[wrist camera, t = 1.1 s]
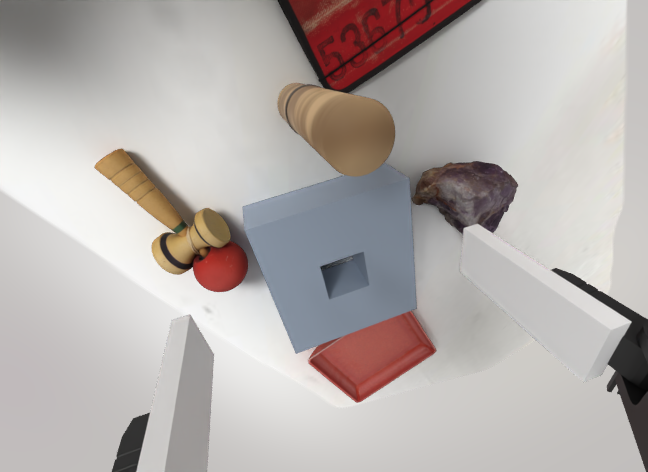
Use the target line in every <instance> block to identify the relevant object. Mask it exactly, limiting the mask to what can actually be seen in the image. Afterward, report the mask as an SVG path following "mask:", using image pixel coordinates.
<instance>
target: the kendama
mask: <svg viewBox="0 0 648 472" xmlns="http://www.w3.org/2000/svg"><path fill="white" fill-rule="evenodd" d="M95 169H96V170H98V171H99V172H100V173H101V174H103V175H104V176H105V177H106V178H108V179H109V180H111V181H112V182H113V183H114V184H115V185H116V186H118V187H119V188H120V189H121V190H122V191H123V192H125V193H126V194H128V196H129V197H131V198H132V199H133V200H134V201H137V203H138V204H139V205H140V206H141V207H142V208H143V209H145V210H146V211H147V212H148V213H150V214H151V215H152V216H153V217H155V218H156V219H157V220H159V221H160V222H161V223H163V224H164V225H166V226H167V227H168V228H170V229H171V230H172V231H174V232H175V233H177V234H174V233H170V232H166V233H163V234H161V235H160V236H159V237H157V238H156V239H155V240H154V241H153V243H152V253H153V256H154V258H155V260H156V261H157V263H158V264H159V265H160V266H161V267H162V268H163V269H164V270H166V271H167V272H169V273H172V274H177V275H178V274H182V273H184V272H186V271H188V270H190V269H191V268H192V267H193V271H194V275H195V277H196V279H197V281H198V282H199V283H200V284H201V285H202V286H203V287H204V288H206V289H208V290H210V291H214V292H225V291H229V290H231V289H233V288H235V287H237V286H238V285H239V284H240V283H241V282H242V281H243V279H244V278H245V276H246V273H247V270H248V259H247V256H246V254H245V252H244V251H243V249H242V248H241V247H240V246H239V245H237V244H236V243H234V242H232V241H230V238H231V236H230V231H229V228H228V226H227V224H226V222H225V221H224V220H223V218H222V217H221V216H220V215H219V214H218V213H216V212H215V211H213V210H211V209H209V208H205V209H203V210H201V211H199V212H197V213H196V215H195V218H194V224H193V226H188V225H187V224H186V223H185V222H184V220H183V219H182V218H181V216H180V215H179V214H178V212H177V211H176V210H175V208H174V207H173V206H172V205H171V203H170V202H169V201H168V200H167V199H166V197H165V196H164V195H163V194H162V193H161V192H160V191H159V190H158V189H157V188H155V185H154V184H153V183H152V182H151V181H150V180H149V179H148V177H147V176H146V175H145V174H144V173H143V172H142V171H141V169H140V168H139V167H138V166H137V165H136V164H134V161H133V160H132V159H131V158H130V157H129V155H128V154H127V153H126V152H125V151H124V150H123V149H118V150H115V151H113V152H112V153H110V154H108V155H107V156H105V157H104V158H102V159H101V160H100V161H99V162H98V163H96V165H95Z"/></svg>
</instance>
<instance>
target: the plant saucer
mask: <svg viewBox="0 0 648 472" xmlns="http://www.w3.org/2000/svg"><path fill="white" fill-rule="evenodd" d="M435 352H436V348H435V347H434V345H433V343H432V342H431V340H430V339H429V337H428V336H427V334H426V333H425V331H424V330H423V328H422V327H421V325H420V323H419V322H418V320H417V319H416V317H415V316H414V314H413V313H412V311H409V312H406V313H403V314H401V315H398V316H395V317H393V318H390V319H387V320H385V321H382V322H379V323H377V324H374V325H371V326H369V327H366V328H363V329H361V330H358V331H355V332H353V333H350V334H347V335H345V336H342V337H339V338H337V339H334V340H331V341H329V342H326V343H323V344H321V345H319V346H318V347H317V348H316V349H315V350H314V352H313V353H312V355H311V356H310V358H309V360H308V363H309V364H310V365H311V366H312V367H314V368H315V369H316V370H317V371H318V372H320V373H321V374H322V375H323V376H324V377H326V378H327V379H328V380H329V381H330V382H332V383H333V384H334V385H335V386H337V387H338V388H339V389H340V390H341V391H343V392H344V393H345V394H346V395H347V396H349V397H350V398H351V399H352V400H354V401H355V402H357V403H358V402H361V401H363V400H364V399H366V398H367V397H369V396H370V395H372V394H373V393H375V392H376V391H378V390H379V389H381V388H383V387H384V386H386V385H387V384H389V383H390V382H392V381H393V380H395V379H396V378H398V377H399V376H401V375H402V374H404V373H406V372H407V371H409V370H410V369H412V368H413V367H414V366H416V365H418V364H419V363H421V362H422V361H424V360H425V359H427V358H428V357H430V356H431V355H433V354H434V353H435Z"/></svg>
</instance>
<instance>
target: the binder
mask: <svg viewBox="0 0 648 472" xmlns="http://www.w3.org/2000/svg"><path fill="white" fill-rule="evenodd" d="M480 1H481V0H278V2H279V4H280V6H281V8H282V10H283V12H284V14H285V16H286V18H287V20H288V22H289V24H290V26H291V28H292V30H293V31H294V33H295V35H296V37H297V39H298V41H299V43H300V45H301V47H302V49H303V51H304V52H305V54H306V56H307V58H308V60H309V62H310V64H311V65H312V67H313V69H314V71H315V72H316V74H317V76H318V78H319V81H320V82H321V84H322V85H323V87H324V89H329V90H333V91H338V92H343V93H349V92H350V91H352V90H353V89H355V88H356V87H358V86H359V85H361V84H362V83H364V82H365V81H367V80H368V79H370V78H371V77H373V76H374V75H376V74H377V73H379V72H380V71H382V70H383V69H385V68H386V67H388V66H389V65H390V64H392V63H393V62H395V61H396V60H398V59H399V58H400V57H402V56H403V55H405V54H406V53H408V52H409V51H411V50H412V49H413V48H415V47H416V46H418V45H419V44H421V43H422V42H424V41H425V40H427V39H428V38H429V37H431V36H432V35H434V34H435V33H436V32H438V31H439V30H441V29H442V28H444V27H445V26H446V25H448V24H449V23H451V22H452V21H453V20H455V19H456V18H458V17H459V16H461V15H462V14H463V13H465V12H466V11H468V10H469V9H470V8H472V7H473V6H474V5H476V4H477V3H479V2H480Z"/></svg>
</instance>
